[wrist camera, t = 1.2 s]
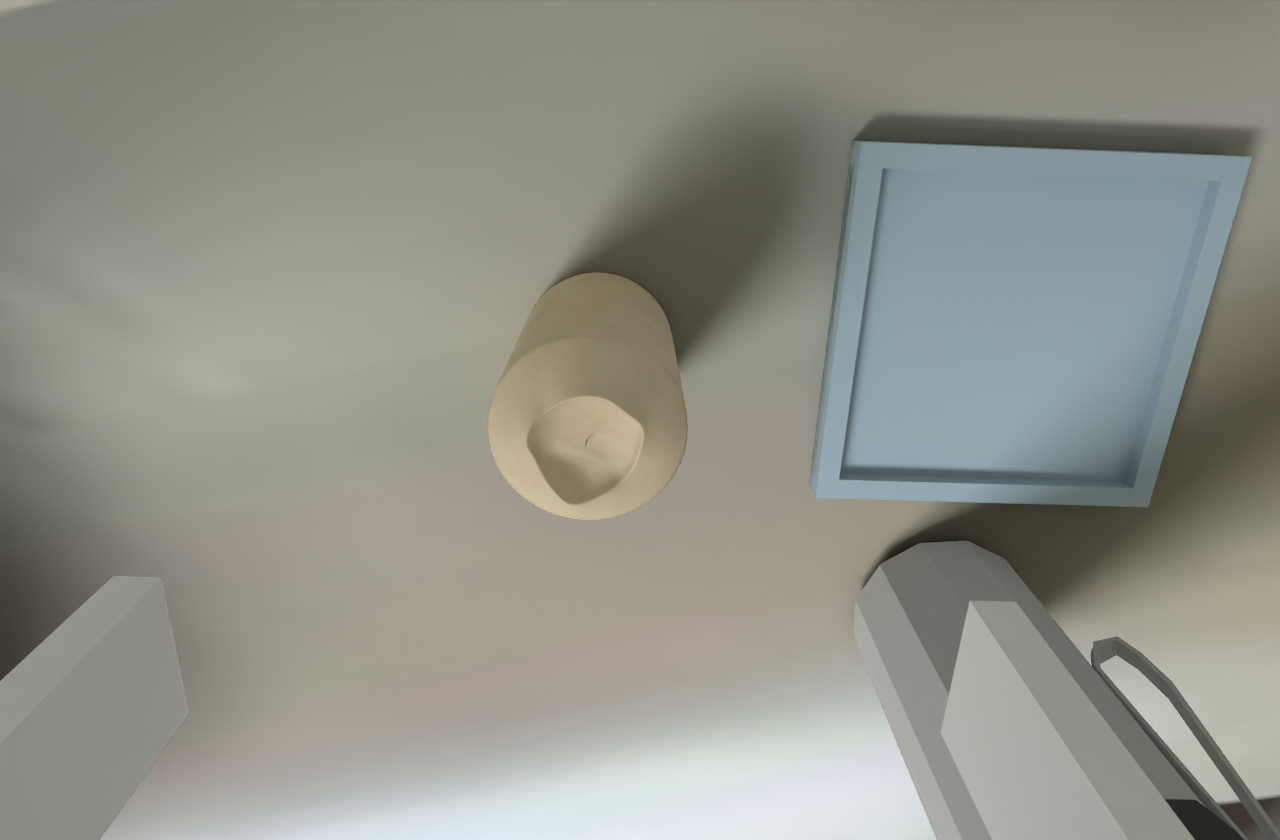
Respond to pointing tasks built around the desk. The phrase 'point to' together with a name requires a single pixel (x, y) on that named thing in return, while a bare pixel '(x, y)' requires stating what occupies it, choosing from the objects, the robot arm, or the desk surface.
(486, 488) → the desk surface
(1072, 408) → the tray
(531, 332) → the candle
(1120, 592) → the desk surface
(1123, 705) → the water bottle
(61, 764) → the robot arm
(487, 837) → the desk surface
